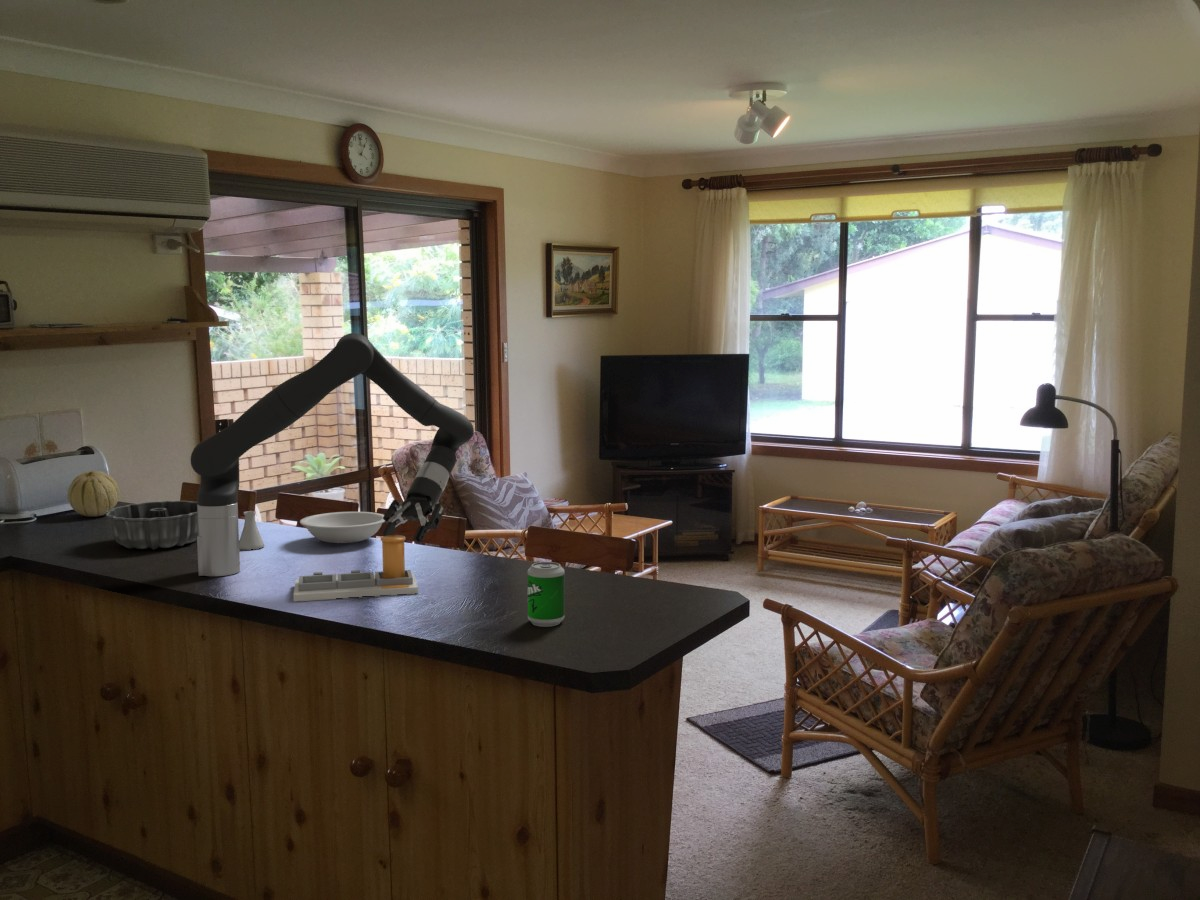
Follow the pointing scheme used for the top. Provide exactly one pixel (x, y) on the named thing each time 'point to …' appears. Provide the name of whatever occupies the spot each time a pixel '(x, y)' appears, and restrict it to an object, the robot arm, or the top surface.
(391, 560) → the cap
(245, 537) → the flask
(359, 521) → the soup bowl
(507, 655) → the top surface
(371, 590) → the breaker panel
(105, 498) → the cantaloupe
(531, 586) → the soda can
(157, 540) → the bundt pan
